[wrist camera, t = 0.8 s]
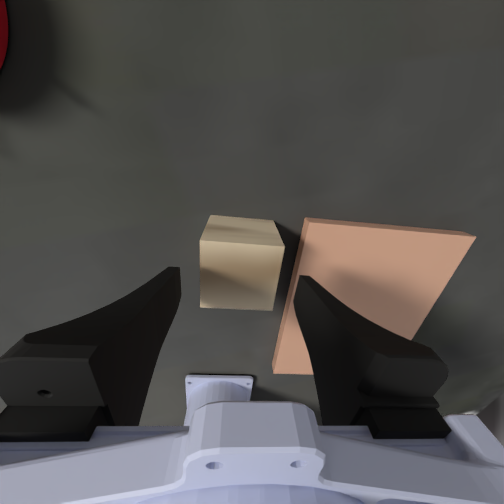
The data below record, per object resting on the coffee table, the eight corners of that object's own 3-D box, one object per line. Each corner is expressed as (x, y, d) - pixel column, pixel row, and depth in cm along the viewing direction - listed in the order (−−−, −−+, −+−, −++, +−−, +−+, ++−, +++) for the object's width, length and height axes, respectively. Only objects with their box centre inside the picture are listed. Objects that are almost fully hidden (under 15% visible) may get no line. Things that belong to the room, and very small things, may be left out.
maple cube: (265, 272, 19) (272, 310, 15) (209, 268, 19) (200, 307, 14) (273, 220, 17) (284, 246, 13) (210, 214, 17) (199, 240, 12)
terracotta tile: (382, 366, 26) (388, 375, 25) (272, 363, 25) (273, 373, 24) (462, 231, 18) (476, 236, 17) (305, 217, 17) (309, 222, 16)
